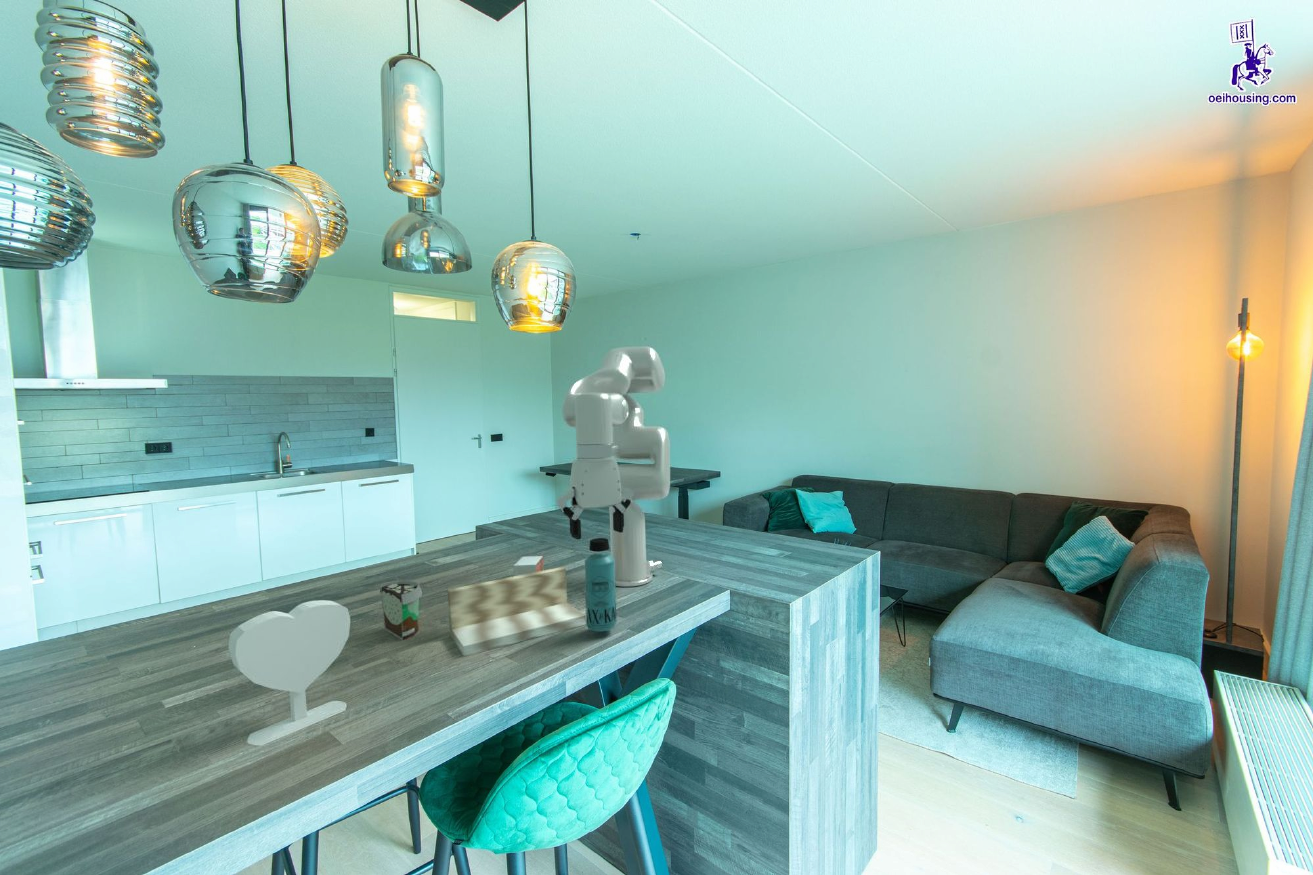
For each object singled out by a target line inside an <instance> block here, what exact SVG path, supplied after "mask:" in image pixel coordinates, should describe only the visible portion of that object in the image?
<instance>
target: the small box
mask: <svg viewBox="0 0 1313 875" xmlns="http://www.w3.org/2000/svg"><path fill="white" fill-rule="evenodd" d="M544 569H545V568H544V556H543V555H540V556H539V555H536V556H532V555H531V556H521V557H520V559H518V561H517V562H516V563H515V564H513V577H514V576H519V575H524V574H529V573H534V572H539V571H544Z"/></svg>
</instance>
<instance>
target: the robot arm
mask: <svg viewBox="0 0 1313 875" xmlns="http://www.w3.org/2000/svg"><path fill="white" fill-rule="evenodd" d="M665 382H666V375H665V369H664V366H663V364H662V361H661V358H660V355H659V353H658V352H657V351H656V349H654V348H653V347H650V346H647V345H646V346H623V347H615V348H612V349H610V350H608V352H607V353H605V355H604V357H603V359H602V361H601V363H600V365H599V368H598V370H596V371H594V372H592V373H590V374H588V375H587V376H586V375H585V376H584V377H582V378H580V379H578V380H576V381H575V382H574V383H572V384H571V385H570V387H569V388H568V391H567V392H566V394H565V397H564V400H563V402H562V407H561V413H562V414H561V415H562V418H563V420H564V423H565V425H567V426H569V427H571V428H574V429H575V441H576V444H575V445H576V459H573V460H572V463H571V470H570V478H569V479H570V480H569V490H568V491H566V492H565V493H563V494H561V495H560V496H558V497H557V498H556V501H555V502H556V504H557V506H558V507H559V508H560V512H562V513H563V514H564V516H566V518H568V519H569V534H570V535H571V537H572V538H574V539H576V540H581V539H582V524H581V519H579V517H580V516H581V514H582V513H583V511H584V510H591V509H599V508H607V507H608V510H609V512H608V513H609V529H610V530H609V532H610V556H612V557H613V558H614V560H615V562H614V570H615V584H616V585H615V587H638V586H641V585H645V584H648V583H650V582H651V581H652V580H653V573H652V572H651V571H653V570H654V569H655V570H656V569H660V568H662V567H663V563H662V562H661V560H657V561H653V560H647V547H646V546H647V542H646V516H645V513H644V511H643V509H642V508H641V507H640V505H639V504H638V502H637V501H638V500H663V499H665V498H666V497H668V495H669V493H670V488H671V441H670V434H669V433H668V430H667V429H666V428H664V427H662V426H659V425H656V426H655V425H652V426H651V425H650V426H649V425H647V426H645V425H644V419H645V418H644V417H645V412H644V410H643V408H642V406H641V405H640V404H639V402H638V401H636V400H635V398H633V397H632V395H630V394H648V393H649V394H652V393H653V394H655V393H659V392H661V391H662V390H663V389H664V386H665V384H666V383H665ZM617 460H618V461H625V462H644V461H645V462H652V463H626V464H625V463H623V464H620V463H619V464H618V462H617ZM568 501H569V503H570V506H571V507H568V504H567V502H568Z"/></svg>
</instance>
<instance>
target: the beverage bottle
mask: <svg viewBox="0 0 1313 875" xmlns="http://www.w3.org/2000/svg"><path fill="white" fill-rule="evenodd" d="M588 549H589V551H590V552H595V553H592V554H590V555H588V556H587V557H586V559H585V560H584V571H585V575H584V576H585V578H584V579H585V586H584V588H585V598H584V599H585V620H586V624H585V625H586V627H587V629H589V631H594V632H605V631H610V630H612V629H614V628H615V627H616V624H617V620H618V619H617V616H618V615H617V599H616V598H617V597H616V586H615V585H616V584H615V570H614V562H615V560H614V558H613V557H612V556H611V554H609V553H607V552H605V551H608V550H610V544H609V539H608V538H604V537H596V538H593V539H590V540H589V548H588Z"/></svg>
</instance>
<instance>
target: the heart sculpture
mask: <svg viewBox="0 0 1313 875" xmlns="http://www.w3.org/2000/svg"><path fill="white" fill-rule="evenodd" d="M350 628H351V617H350V613H349V609H348V608H347V607H346V606H344V605H341V604H340V603H338V602H336V601H333V600H326V599H325V600H324V599H322V600H321V599H319V600H309V601H306V602H302V603H300V604H298V605H297V606H295V607H294V608H292V610H290V611H289V612H288V613H286V612H283V611H275V610H272V611H268V612H264V613H261V614H259V615H257V616H255V617H253V618H250V619H248V620H247V621H245V622H243V623H241V624H240V625H238V626H237V627H236V628H234V629H233V631H232V632H230V634H229V640H228V648H227V649H228V651H229V654H230V658H231V661H232V665H233V666H234V667H235V668H236V669H237V670H238V671H240V672H241V673H242V674H243V675H245V677H247V678H248V679H249V680H250V681H251V682H252V683H253V684H256V685H259V686H262V687H264V688H265V687H266V688H268V689H271V690H278V691H285V692H289V705H290V708H289V709H290V717H288V718H286V719H283V720H281V721H279V722H276V723H273V724H271V725H268V726H266V727H263V728H261V729H259V730H256V731H254V732H253V731H252V732H251V733H250V734H249V736H248V737H247V740H246V742H247V744H249V745H253V746H260V747H262V746H264V745H266V744H269V743H271V742H274V741H277V740H278V739H281V738H283V737H285V736H287V735H291V734H293V733H295V732H297V731H298V732H299V731H300V730H302V729H305V728H307V727H310V726H311V725H314V724H316V723H319V722H322V721H324V720H326V719H329V718H331V717H333V716H335V715H338V714H340V713H344V712H345V711H346V710H347V705H348V704H347V703H346V702H345V701H339V700H331V701H329V702H326V703H323V704H321V705H318V706H317V707H314V708H311V709H309V710H308V709H307V697H306V695H307V694H306V690H307V688H308V687H309V686H310V685H311V684H312V683H314V681H315V680H317V679H318V678H319V677H320V676H322V674H323V673H324V672H325V671H327V670H328V669H329V667H330V666H331V665H332V664H333V663H334V661H335V660H336V659H337V658H338V657H339V655H341V654H342V653H341V652H342V651H343V648H344V647H345V644H346V643H347V641H348V639H349V637H350Z"/></svg>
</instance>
